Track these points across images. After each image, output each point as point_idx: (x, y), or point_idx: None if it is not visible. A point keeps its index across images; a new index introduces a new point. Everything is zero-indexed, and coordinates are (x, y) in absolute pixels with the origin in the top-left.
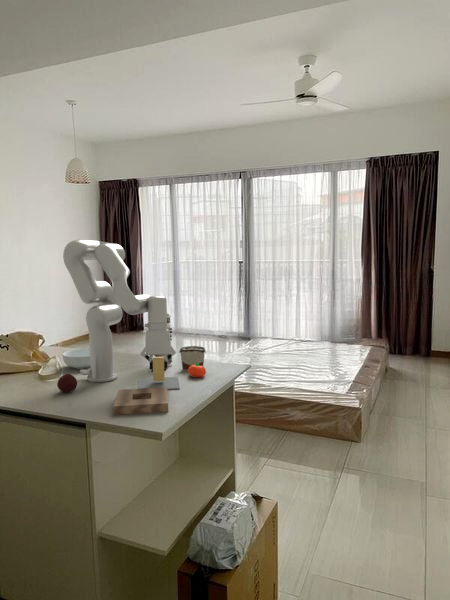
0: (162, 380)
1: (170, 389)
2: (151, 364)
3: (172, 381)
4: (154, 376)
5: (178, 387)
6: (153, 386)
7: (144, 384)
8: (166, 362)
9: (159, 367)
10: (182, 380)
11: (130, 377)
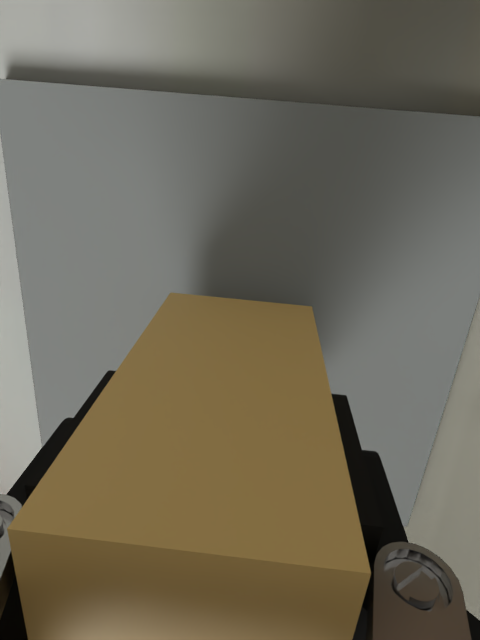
0: (194, 297)
1: (116, 90)
2: (368, 485)
3: (93, 358)
4: (297, 330)
5: (10, 102)
6: (314, 229)
7: (403, 334)
8: (24, 495)
9: (200, 397)
10: (6, 401)
11: (469, 594)
